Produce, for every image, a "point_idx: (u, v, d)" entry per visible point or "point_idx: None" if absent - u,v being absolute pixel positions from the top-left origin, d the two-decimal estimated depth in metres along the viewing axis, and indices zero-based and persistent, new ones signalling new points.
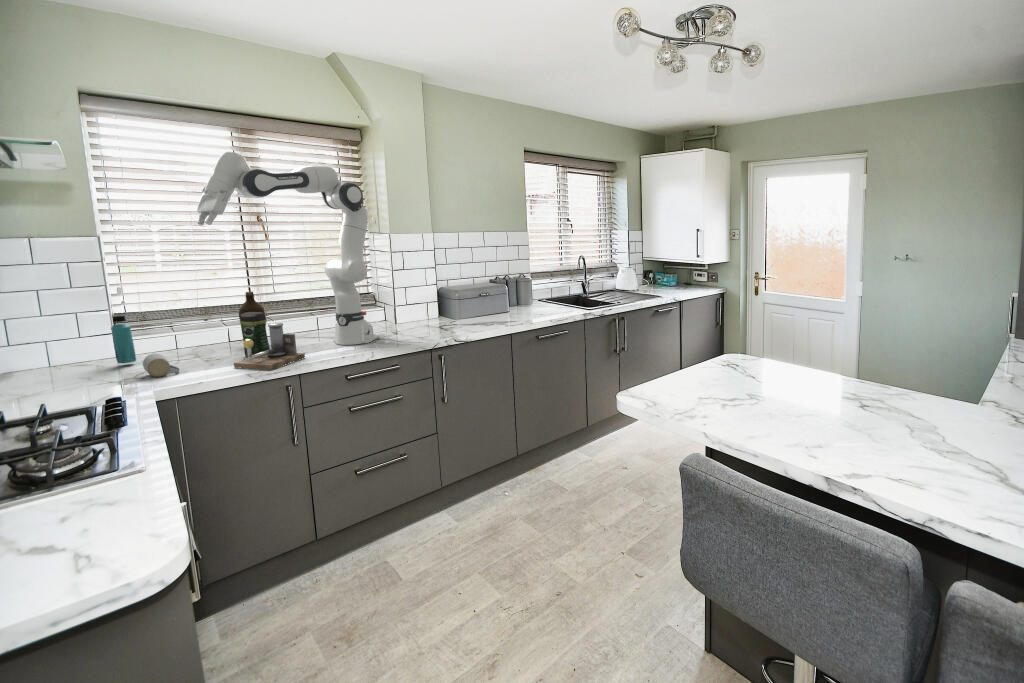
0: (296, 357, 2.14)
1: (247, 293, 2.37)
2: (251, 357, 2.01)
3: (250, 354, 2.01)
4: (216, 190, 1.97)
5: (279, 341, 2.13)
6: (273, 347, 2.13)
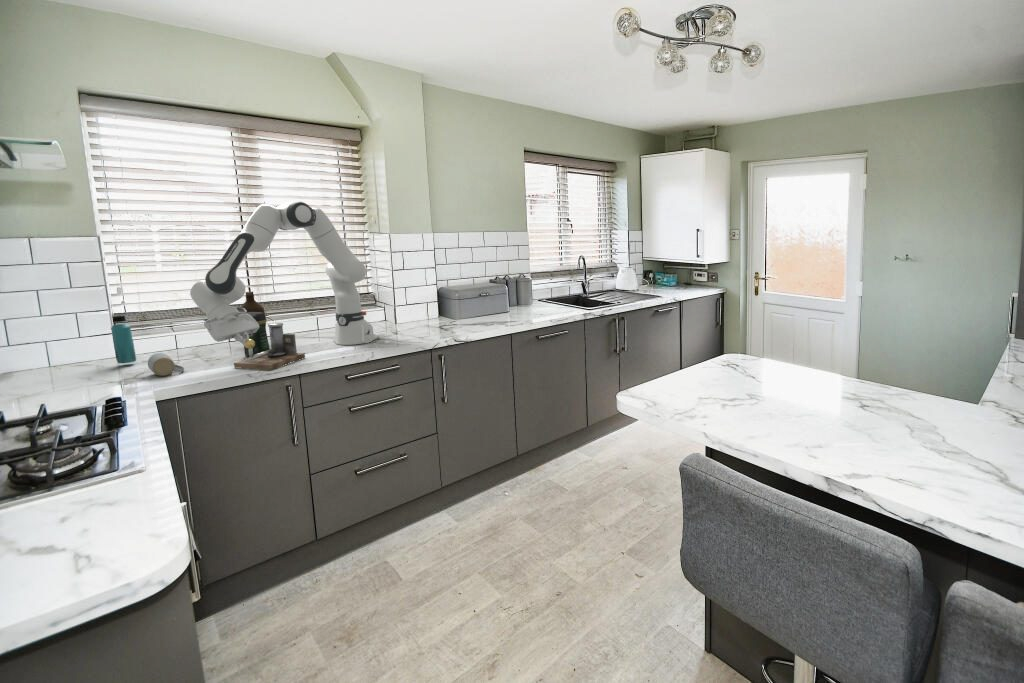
0: (296, 357, 2.14)
1: (247, 293, 2.37)
2: (252, 357, 2.01)
3: (251, 354, 2.01)
4: None
5: (279, 341, 2.13)
6: (273, 347, 2.13)
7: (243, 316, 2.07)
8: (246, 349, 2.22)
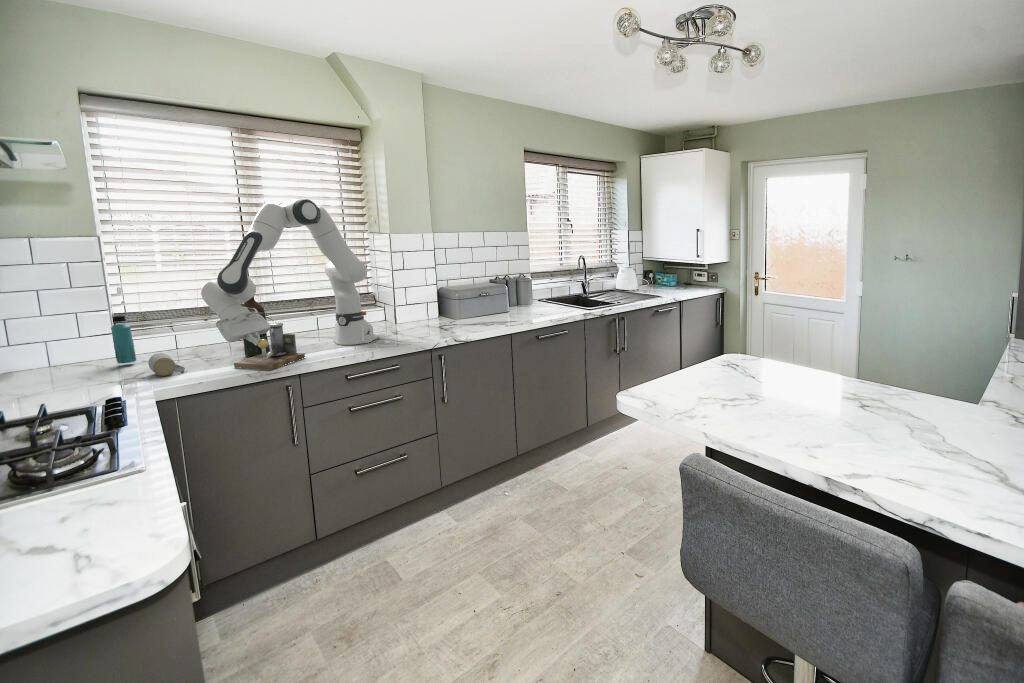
0: (296, 357, 2.14)
1: None
2: (266, 357, 2.01)
3: (265, 354, 2.00)
4: None
5: (281, 341, 2.14)
6: (275, 347, 2.13)
7: (254, 316, 2.06)
8: (246, 349, 2.22)
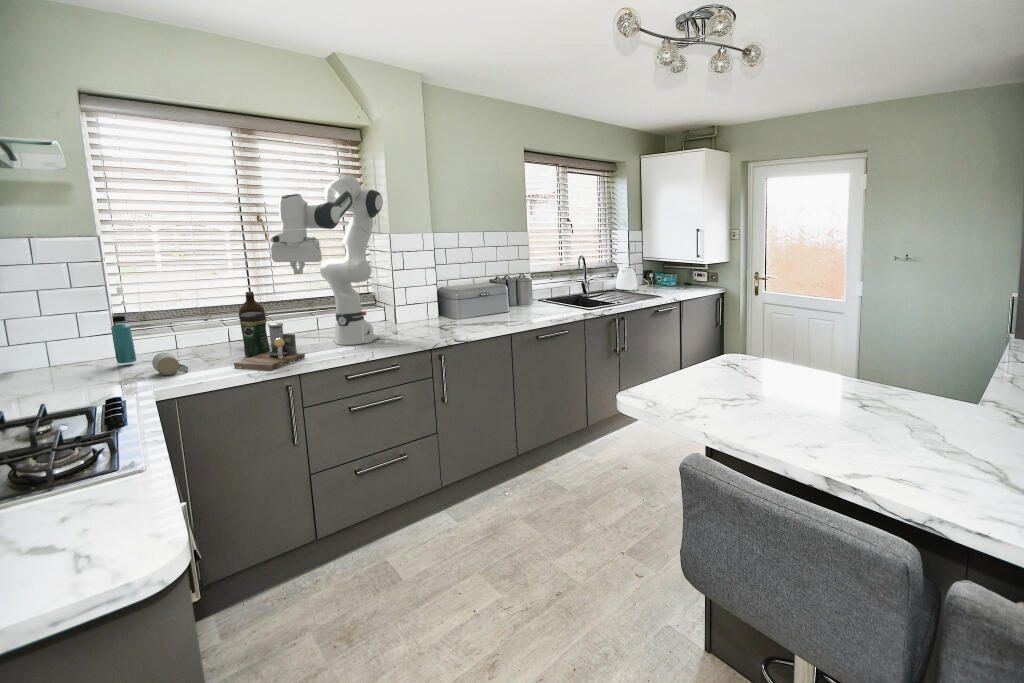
0: (296, 357, 2.14)
1: (247, 293, 2.37)
2: (282, 356, 2.03)
3: (282, 353, 2.02)
4: (300, 240, 1.99)
5: None
6: (278, 347, 2.13)
7: None
8: (246, 349, 2.22)
